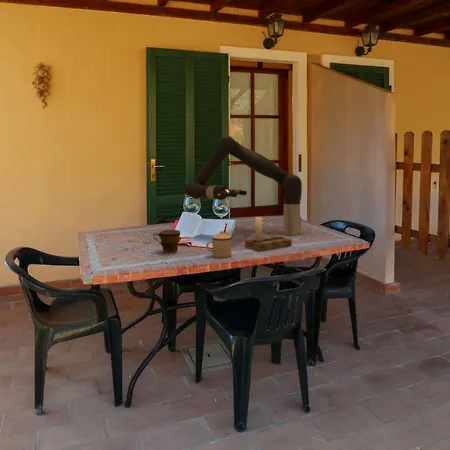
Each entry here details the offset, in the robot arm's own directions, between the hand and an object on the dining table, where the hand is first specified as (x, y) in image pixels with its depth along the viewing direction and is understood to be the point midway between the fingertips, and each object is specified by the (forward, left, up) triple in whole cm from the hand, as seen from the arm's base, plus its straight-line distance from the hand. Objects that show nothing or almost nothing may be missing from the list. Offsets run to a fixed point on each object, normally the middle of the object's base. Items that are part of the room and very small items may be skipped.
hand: (241, 194), depth 236 cm
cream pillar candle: (0, +15, -24) cm, 28 cm away
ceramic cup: (+41, -3, -26) cm, 48 cm away
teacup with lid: (+24, +17, -26) cm, 39 cm away
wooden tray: (-6, +15, -26) cm, 30 cm away
